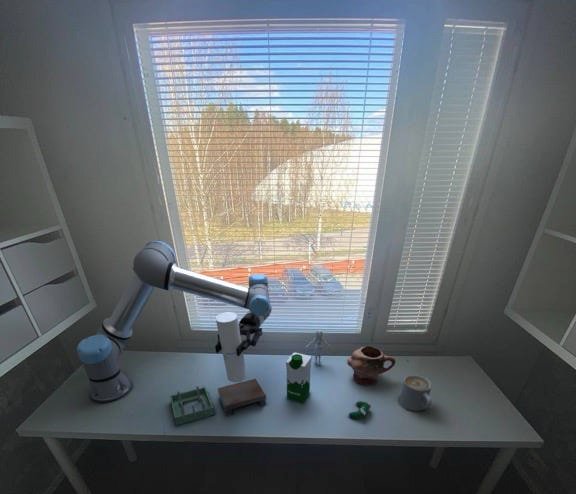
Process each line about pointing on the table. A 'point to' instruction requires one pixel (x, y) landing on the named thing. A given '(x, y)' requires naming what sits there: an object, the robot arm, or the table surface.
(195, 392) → the drying rack
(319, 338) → the human figurine
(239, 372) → the cylindrical container
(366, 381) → the clay jug
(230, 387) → the brown slab
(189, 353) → the table surface
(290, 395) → the milk carton
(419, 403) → the coffee mug
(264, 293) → the robot arm
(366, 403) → the green curved piece
